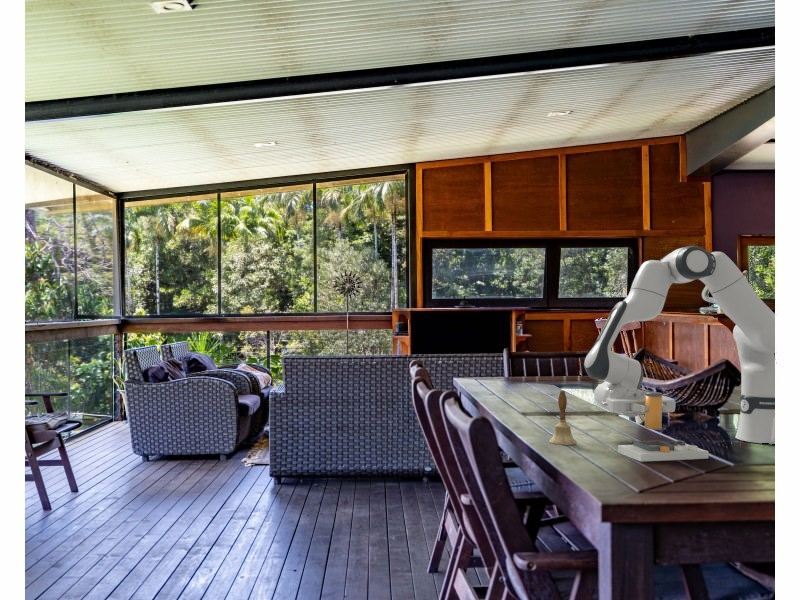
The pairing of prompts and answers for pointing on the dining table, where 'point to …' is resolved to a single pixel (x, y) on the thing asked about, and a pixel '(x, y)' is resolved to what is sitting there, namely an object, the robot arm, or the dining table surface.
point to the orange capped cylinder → (653, 410)
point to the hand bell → (562, 425)
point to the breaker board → (662, 451)
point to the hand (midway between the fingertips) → (655, 409)
